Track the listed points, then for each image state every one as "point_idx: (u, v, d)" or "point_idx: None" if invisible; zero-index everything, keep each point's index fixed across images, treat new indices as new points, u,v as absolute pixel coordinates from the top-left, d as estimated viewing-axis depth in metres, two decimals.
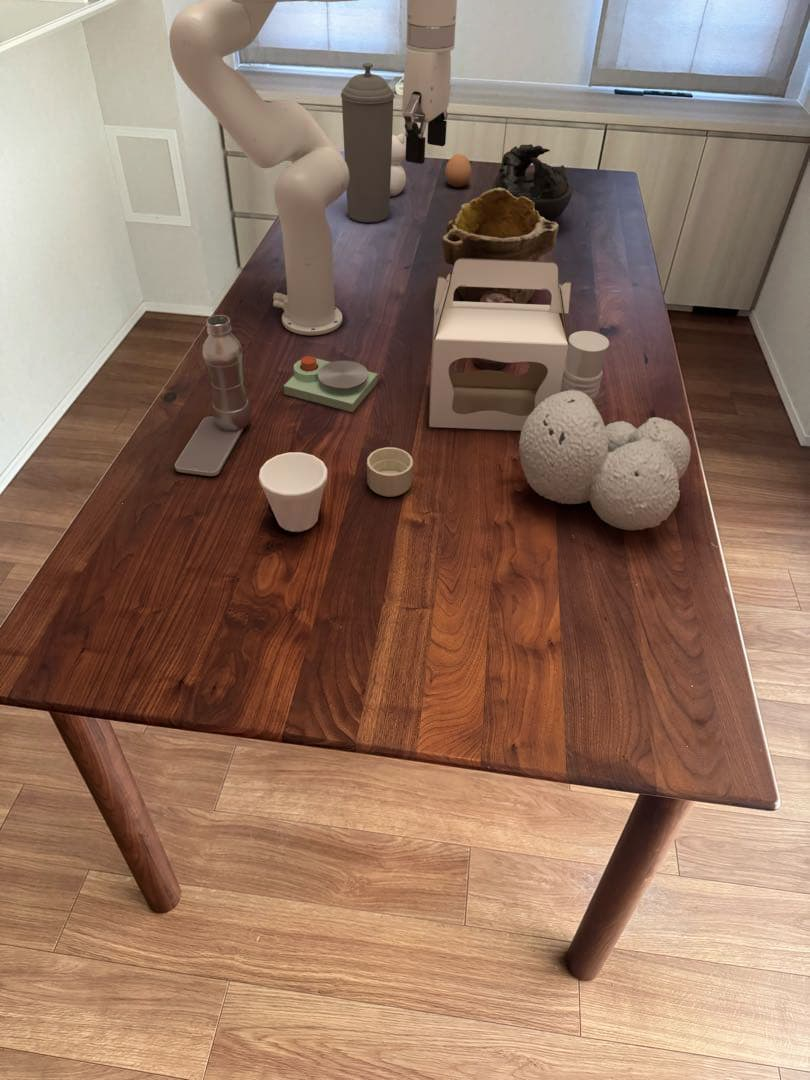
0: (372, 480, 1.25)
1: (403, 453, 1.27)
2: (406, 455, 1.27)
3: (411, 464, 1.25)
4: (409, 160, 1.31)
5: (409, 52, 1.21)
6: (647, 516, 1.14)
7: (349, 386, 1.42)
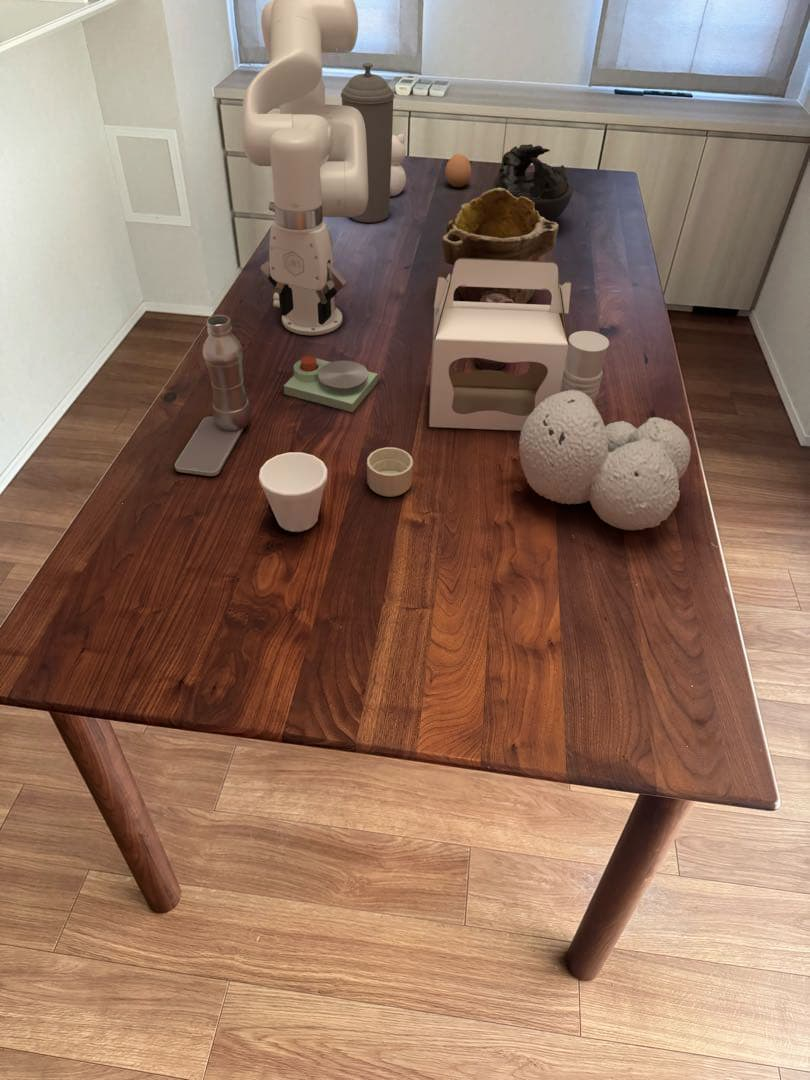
0: (372, 480, 1.25)
1: (403, 453, 1.27)
2: (406, 455, 1.27)
3: (411, 464, 1.25)
4: (323, 322, 1.38)
5: (318, 233, 1.26)
6: (647, 516, 1.14)
7: (349, 386, 1.42)
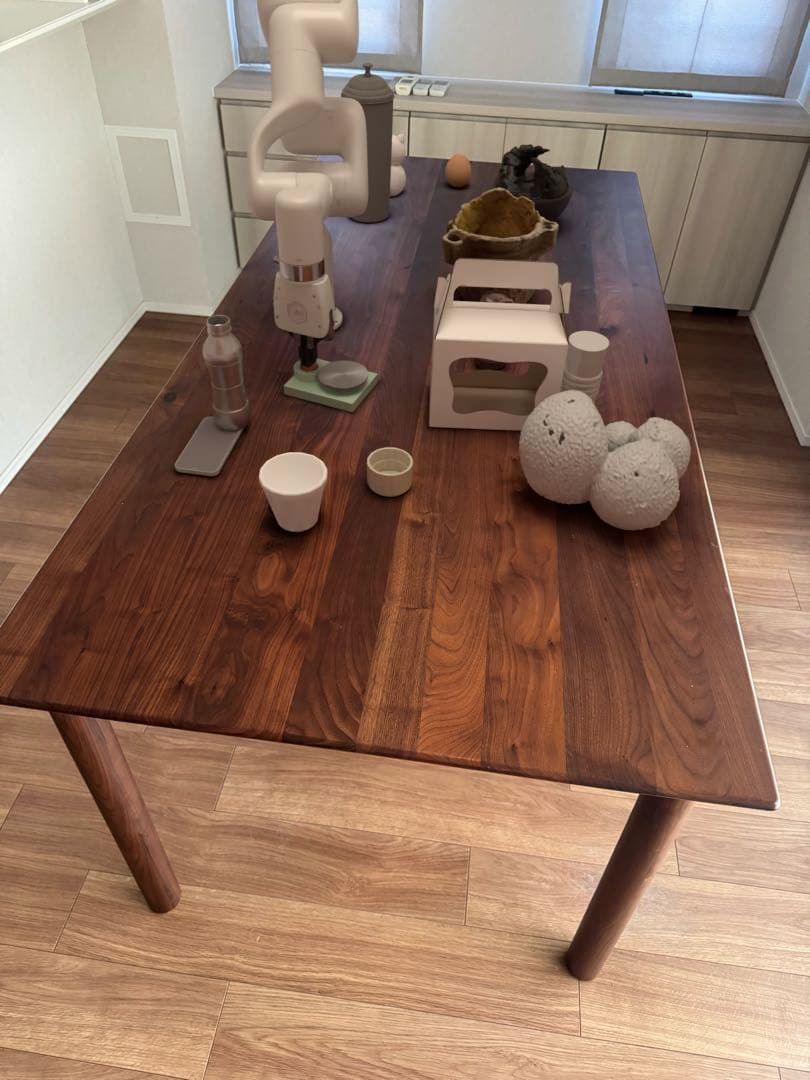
0: (372, 480, 1.25)
1: (403, 453, 1.27)
2: (406, 455, 1.27)
3: (411, 464, 1.25)
4: (310, 365, 1.45)
5: (320, 285, 1.32)
6: (647, 516, 1.14)
7: (349, 386, 1.42)
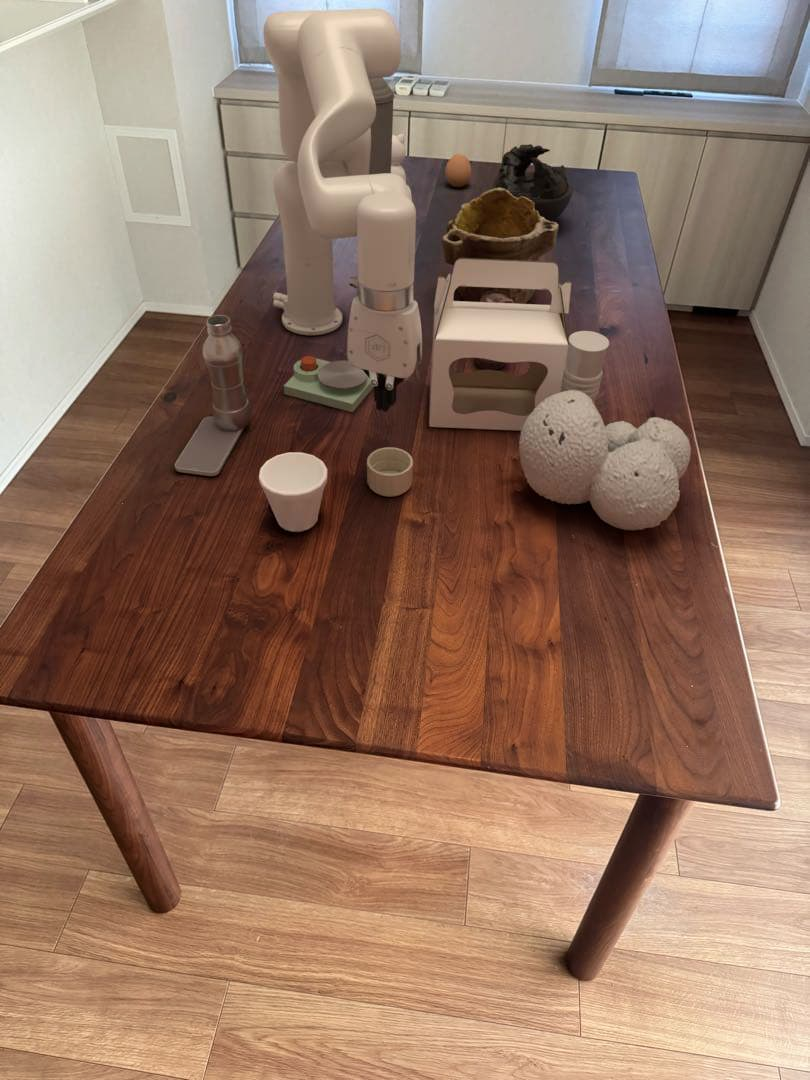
0: (372, 480, 1.25)
1: (403, 453, 1.27)
2: (406, 455, 1.27)
3: (411, 464, 1.25)
4: (387, 409, 1.19)
5: (409, 314, 1.06)
6: (647, 516, 1.14)
7: (349, 386, 1.42)
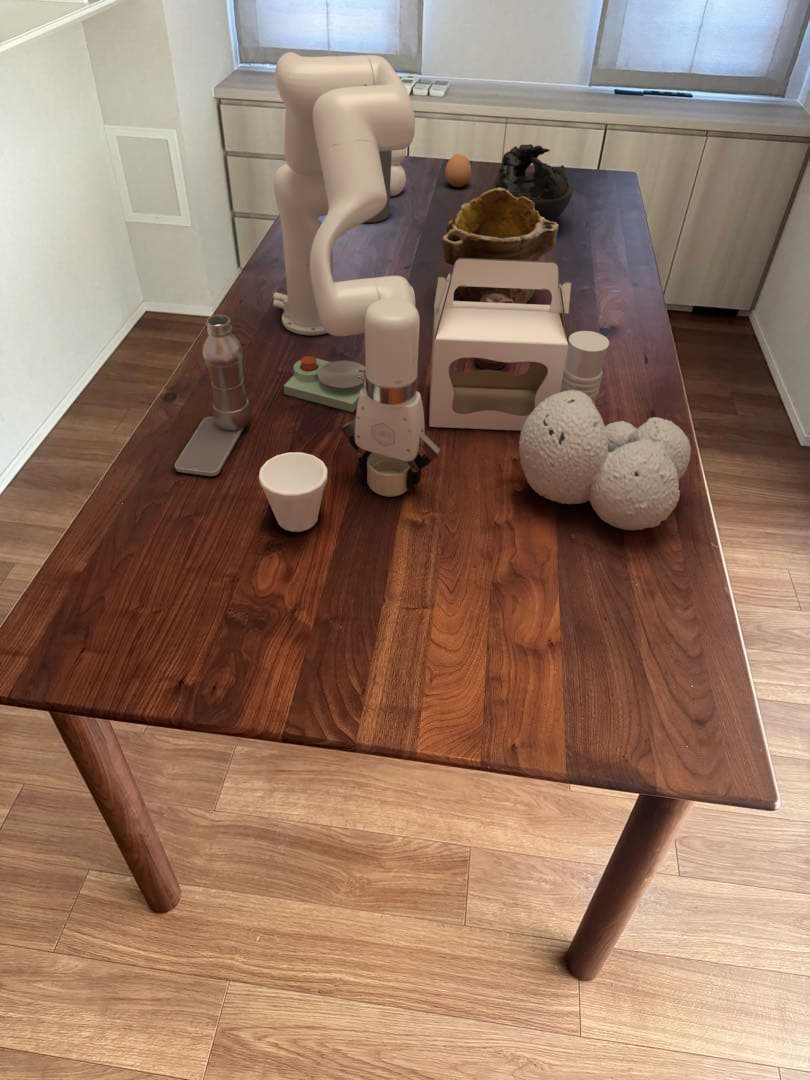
0: (372, 480, 1.25)
1: None
2: None
3: None
4: (412, 488, 1.26)
5: (413, 407, 1.14)
6: (647, 516, 1.14)
7: (349, 386, 1.42)
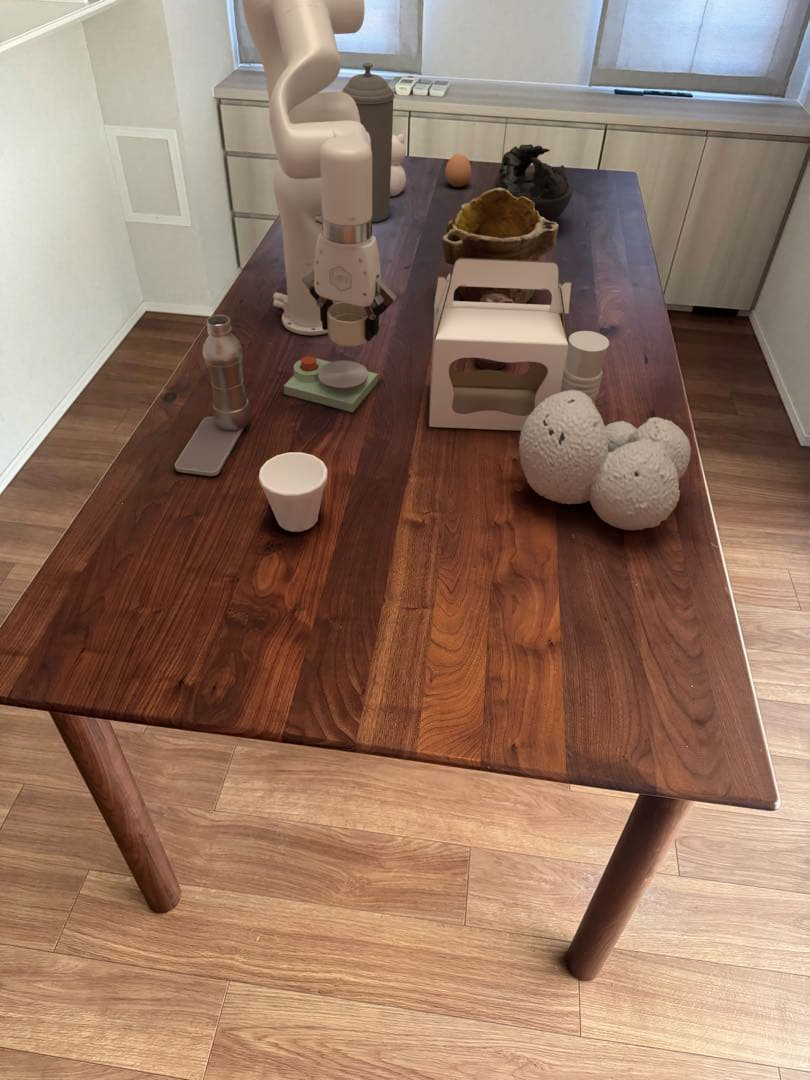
0: (332, 329, 1.30)
1: None
2: None
3: None
4: (370, 338, 1.31)
5: (368, 247, 1.20)
6: (647, 516, 1.14)
7: (349, 386, 1.42)
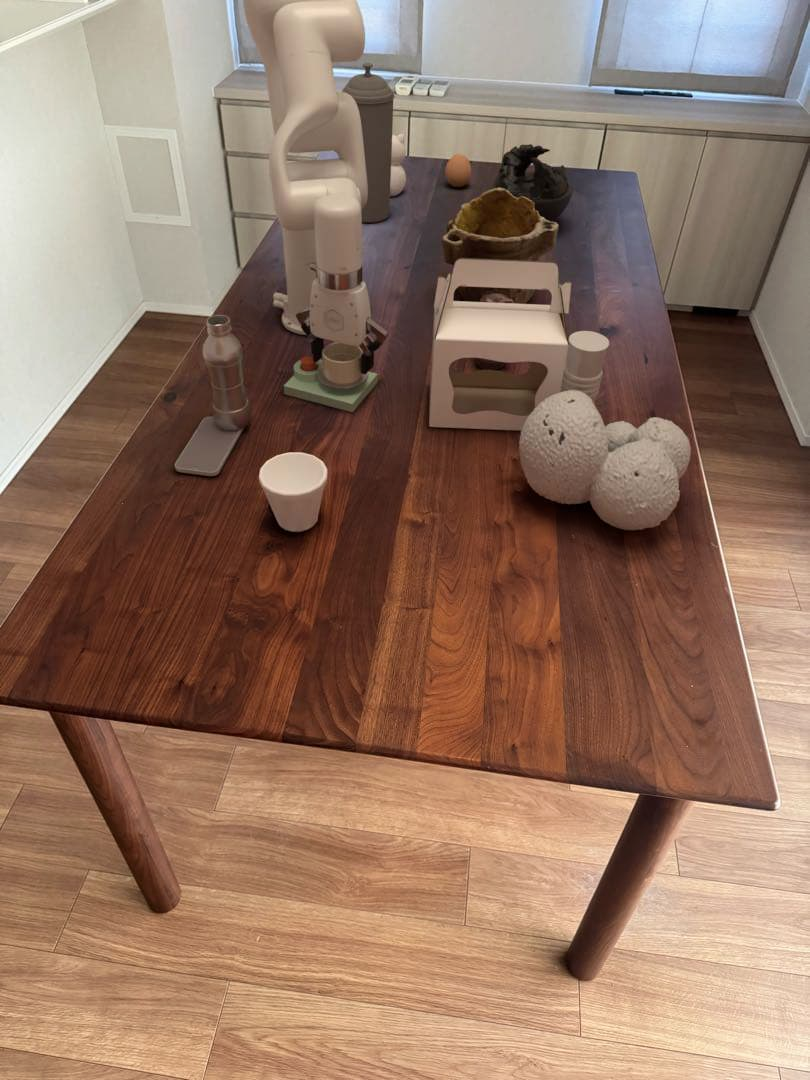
0: (326, 368, 1.41)
1: (355, 346, 1.43)
2: (357, 348, 1.43)
3: (361, 354, 1.41)
4: (366, 372, 1.41)
5: (358, 293, 1.30)
6: (647, 516, 1.14)
7: (349, 386, 1.42)
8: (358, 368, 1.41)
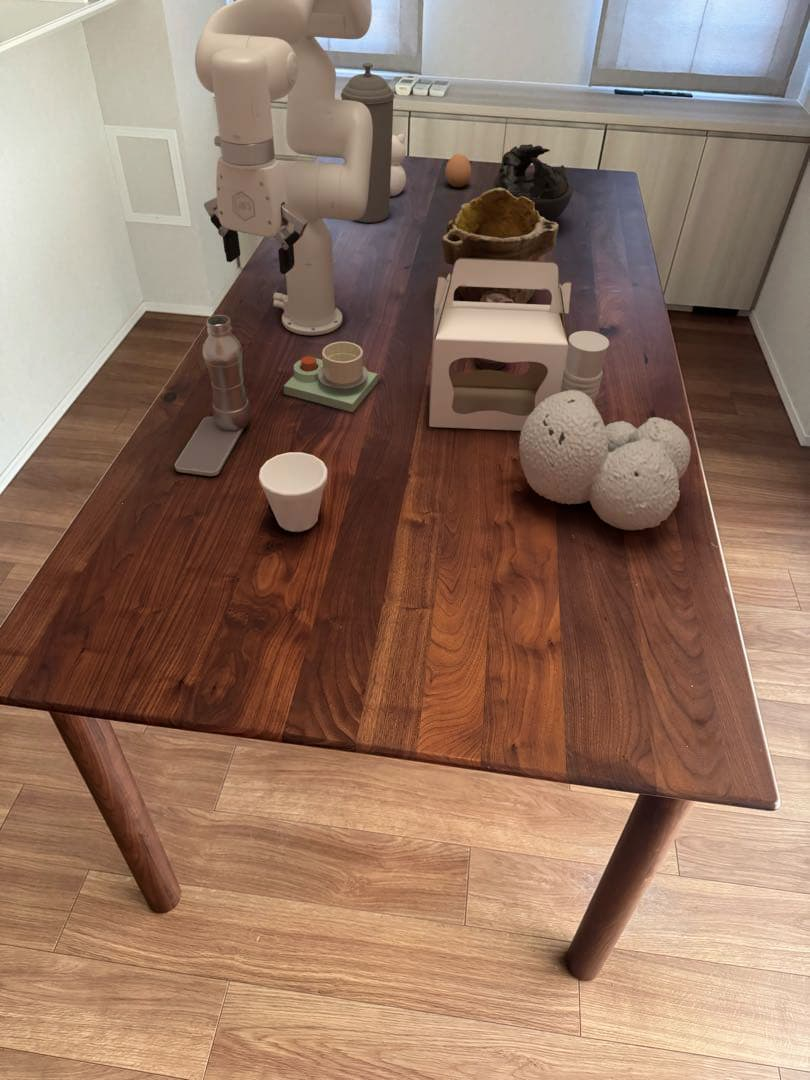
0: (326, 368, 1.41)
1: (355, 346, 1.43)
2: (357, 348, 1.43)
3: (361, 354, 1.41)
4: (285, 271, 1.24)
5: (268, 170, 1.13)
6: (647, 516, 1.14)
7: (349, 386, 1.42)
8: (358, 368, 1.41)
